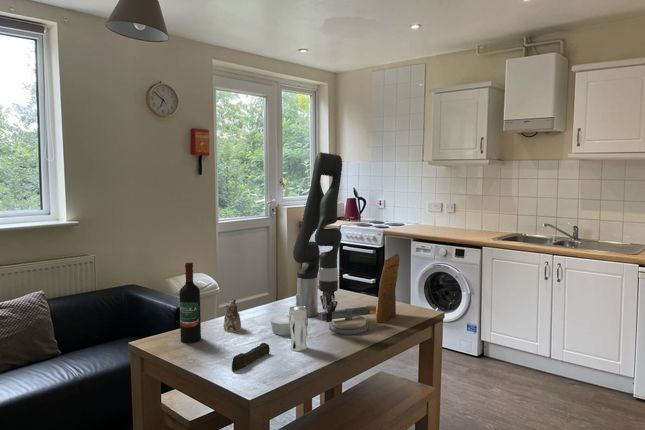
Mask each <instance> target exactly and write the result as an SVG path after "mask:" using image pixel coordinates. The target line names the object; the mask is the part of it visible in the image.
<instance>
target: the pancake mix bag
mask: <svg viewBox="0 0 645 430" xmlns="http://www.w3.org/2000/svg"><path fill="white" fill-rule="evenodd" d="M399 266H400V255H399V253H396V254H394V255H392V256H391V257H389V258H386V259H385V260H384V263H383V268H382V272H381V276H380V280H379V287H378V297H377V307H376V314H375V321H376V323H386V322H387V321H390V320H391V319H393V318H395V317H396V316H397V309H396V308H397V305H396V304H397V301H396V299H397V298H396V287H397V281H398V276H399V275H398V274H399V273H398V272H399Z"/></svg>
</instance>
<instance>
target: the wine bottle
mask: <svg viewBox="0 0 645 430" xmlns="http://www.w3.org/2000/svg"><path fill="white" fill-rule="evenodd" d="M184 265H185V266H184V267H185V283H184V285H182V287H181V288H180V289H179V321H180V322H179V325H180V327H179V329H180V331H179V332H180V342H181V343H184V344H193V343H197V342H199V341H200V342H201V340H202V331H201V330H202V325H201V289H200V288H199V287H198V286H197V285H196V284H195V283H194V263H193V262H192V261H191V262H189V261H188V262H185V263H184Z"/></svg>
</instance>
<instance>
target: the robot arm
mask: <svg viewBox="0 0 645 430" xmlns="http://www.w3.org/2000/svg"><path fill="white" fill-rule="evenodd" d="M342 170H343V159H342V156H340V155H339V154H335V153H334V154H333V153H328V152H318V153H317V154H316V156H315V159H314V163H313V170H312V176H311V181H310V186H309V190H308V195H307V198H306V202H305V206H304V211H303V215H302V216H303V217H302V219H301V220H302V221H301V224H300V227H299V232H298V233H297V237H296V240H295V243H294V245H293V250H292V253H293V254H292V256H293V259H294V261H295V263H299V264H305V265H304V266H302V267H301V268H299V269H298V271H297V273H296V277H297V280H296V281H297V282H296V286H297V287H296V289H297V290H296V294H295V306H304V307H307V312H308V318H312V317H315V316H317V315H318V313H319V311H318V310H319V308H318V307H319V306H318V303H319V302H318V301H319V300H318V297H319V299H320V303H321V306H322V310H324V312H325V313H326V321H325V322H326V323H331V322H332V312H335V310H337V307H338V300H336V296H335V292H338V290H339V271H338V254H339V249H340V245H341V242H342V236H343V234H342V231H341V230H340V229H339V228H336V227H335V228H326V227H327V226H330V225H334V224H336V223H337V222H338V200H339V193H340V188H341V187H340V185H341V178H342V172H343V171H342ZM322 176H325V177H326V176H327V177H332V179H331V184H330V185H329V188H328V189H327V190H326V192H325V193H324V191H323V188H322V184H321V178H322ZM314 233H315V234H314ZM313 234H314V241H313V240H312V241H311V238H312V236H313ZM320 247H332V248H331V249H330V250H328V251H323V252H320ZM318 289H319V290H318ZM318 291H319V292H322V295H320V296H318V295H319V294H318ZM335 300H336V301H335Z"/></svg>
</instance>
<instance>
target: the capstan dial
mask: <svg viewBox="0 0 645 430" xmlns="http://www.w3.org/2000/svg"><path fill="white" fill-rule="evenodd" d="M376 313H377V306H376V305H374V304H372V305H366V306H359V307H358V306H357V307H351V308H345V309H335V312H332V326H334V327H336V328H339V329H347V330H353V329H360V328H363V327H364V326H365V325H366V323H367V322H366V318H365V317H364V316H368V315H369V316H370V315H376ZM319 320H320V321H321V322H324V321H325V322H326V313H325V311H320V312H319Z"/></svg>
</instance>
